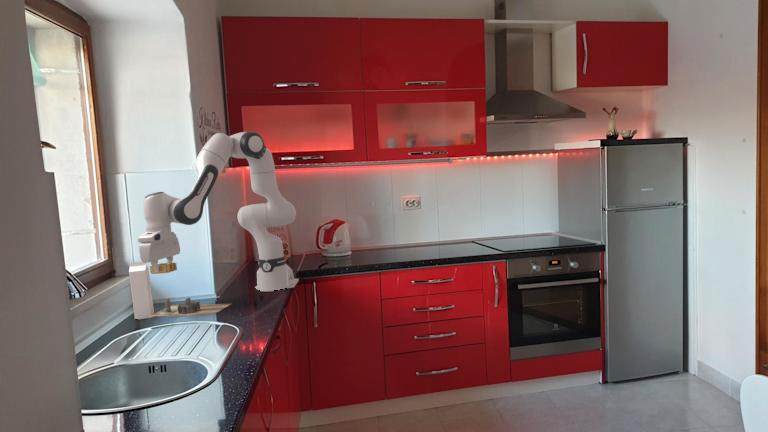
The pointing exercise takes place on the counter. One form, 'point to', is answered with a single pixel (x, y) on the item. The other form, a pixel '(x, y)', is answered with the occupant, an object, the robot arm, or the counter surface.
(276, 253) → the robot arm
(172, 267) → the toothed rectangular frame
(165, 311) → the gear board
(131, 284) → the milk
